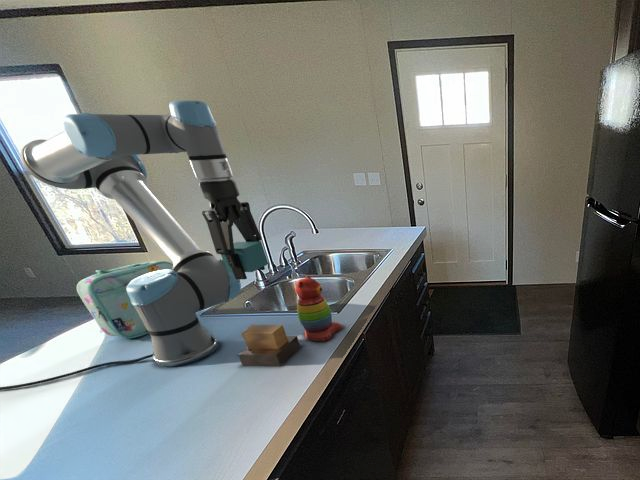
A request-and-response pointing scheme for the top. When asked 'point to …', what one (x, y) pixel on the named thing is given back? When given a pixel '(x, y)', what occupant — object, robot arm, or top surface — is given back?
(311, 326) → the stacking bear
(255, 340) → the oak brick
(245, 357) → the walnut base
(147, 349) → the top surface
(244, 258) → the teal cube
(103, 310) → the lunch box
